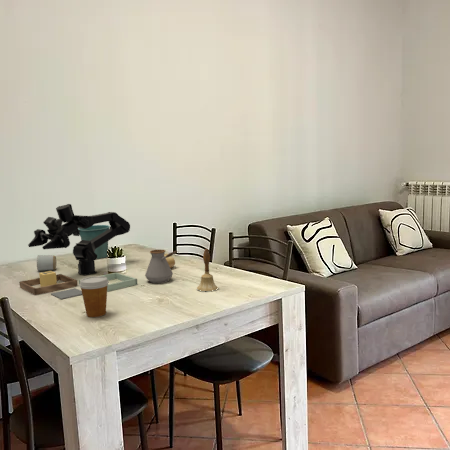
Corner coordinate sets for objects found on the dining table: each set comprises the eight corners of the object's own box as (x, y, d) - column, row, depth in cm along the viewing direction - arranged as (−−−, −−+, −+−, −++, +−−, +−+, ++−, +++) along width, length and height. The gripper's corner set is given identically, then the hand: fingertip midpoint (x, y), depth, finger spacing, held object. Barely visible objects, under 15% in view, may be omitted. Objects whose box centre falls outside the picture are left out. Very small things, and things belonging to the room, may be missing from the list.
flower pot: (94, 261, 249) (92, 230, 246) (73, 258, 258) (71, 228, 255) (118, 255, 262) (116, 225, 260) (97, 253, 271) (95, 224, 269)
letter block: (52, 284, 205) (51, 270, 205) (57, 286, 202) (55, 272, 201) (40, 287, 202) (39, 272, 201) (45, 289, 198) (43, 274, 198)
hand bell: (221, 286, 193) (219, 247, 191) (213, 292, 185) (212, 251, 183) (201, 285, 196) (199, 246, 194) (193, 291, 188) (191, 250, 186)
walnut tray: (61, 279, 214) (60, 273, 214) (77, 286, 202) (77, 280, 201) (19, 287, 202) (19, 281, 202) (34, 295, 190) (34, 289, 190)
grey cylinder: (55, 271, 230) (54, 255, 229) (37, 272, 228) (35, 256, 227) (58, 267, 240) (57, 251, 239) (40, 268, 238) (39, 252, 237)
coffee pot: (140, 280, 207) (138, 246, 205) (164, 276, 213) (162, 242, 211) (166, 291, 190) (164, 253, 188) (191, 285, 197) (189, 248, 194)
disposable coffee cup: (84, 310, 169) (82, 276, 167) (112, 309, 169) (110, 275, 168) (78, 319, 159) (76, 283, 158) (108, 318, 160) (106, 282, 158)
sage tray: (117, 278, 213) (116, 272, 213) (137, 284, 201) (137, 278, 200) (79, 286, 202) (78, 280, 201) (97, 293, 189) (97, 287, 189)
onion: (176, 266, 232) (176, 251, 231) (173, 270, 224) (172, 255, 223) (160, 266, 233) (159, 251, 232) (156, 270, 225) (155, 255, 224)
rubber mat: (75, 289, 197) (75, 288, 197) (86, 293, 190) (86, 292, 189) (50, 294, 190) (50, 293, 190) (61, 299, 183) (61, 298, 183)
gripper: (45, 212, 214) (15, 227, 202) (74, 215, 204) (44, 231, 192) (52, 235, 218) (23, 251, 206) (81, 239, 208) (52, 256, 196)
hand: (35, 247), depth 200 cm, fingers open, 9 cm apart
